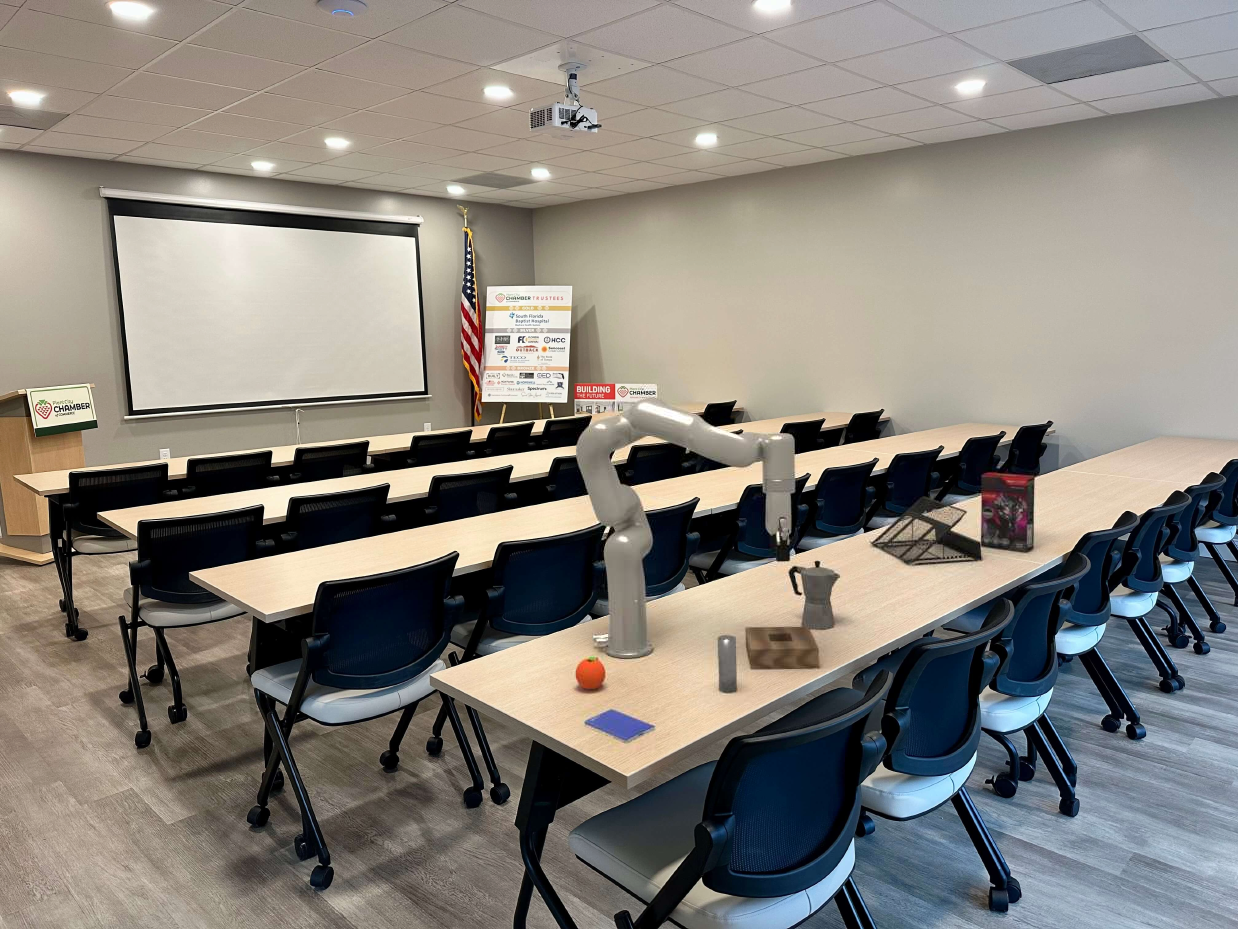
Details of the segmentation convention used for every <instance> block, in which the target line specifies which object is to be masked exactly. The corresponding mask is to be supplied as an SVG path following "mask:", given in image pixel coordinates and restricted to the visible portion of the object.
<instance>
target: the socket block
mask: <svg viewBox="0 0 1238 929" xmlns="http://www.w3.org/2000/svg"><path fill="white" fill-rule="evenodd" d="M744 629H745V649H746V654H747V658H748V663H749V668H750V670H803V669H802V668H820V665H819V664H820V663H819V662H820V660H819V659H820V655H819V654H820V653H819V646H818V645H817V642H816V640H815V637H814V636H813V633H812V631H811V629H809V627H804V626H758V627H755V626H753V627H752V626H751V627H746V626H745V628H744Z"/></svg>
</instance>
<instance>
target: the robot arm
mask: <svg viewBox="0 0 1238 929" xmlns="http://www.w3.org/2000/svg"><path fill="white" fill-rule="evenodd" d="M648 436H649V437H653V438H656V439H660V440H661V441H665V442H667V443H668V442H669V443H671V444H675V445H678V446H680V447H682V448H685V449H688V450H689V451H691V452H694V453H696V454H698V455H700V456H703V457H705V458H707V459H710V460H712V461H715V462H718V463H721V464H723V465H727V466H731V467H734V468H737V469H739V468H742V469H743V468H748V467H750V466H752V465H753V464H754V463H758V462H759V463H760V462H761V463H762V464H761V465H762V493H764V494H765V495H766V496H765V497H766V498H765V529H766V530H767V532H768V533H769V549H770V550H769V551H770V552H771V553H775V561H776V562H777V563H779V562H780V563H781V562H782V563H784V562H790V561H791V545H790V536H789V535H790V534H791V533H792V499H791V494H794V493H795V492H796V475H795V474H796V471H795V470H796V469H795V468H796V464H795V463H796V461H795V456H796V455H795V452H796V451H795V438H794V436H793V435H792V434H790V433H783V432H782V433H781V432H779V433H778V432H774V433H767V434H766V433H757V432H751V431H748V432H742V433H739V434H736V433H733V432H730V431H726V430H723V429H720V428H718V427H716V426H714V425H711V424H709V423H708V422H706V421H705V420H704V419H703V417H701V416H699V415H698V414H696V413H694V412H690V411H687V410H685V409H681V408H677V407H674V406H671V405H668V403H667V402H666V401H664V400H663V399H661V398H659V397H655V396H653V397H648V398H647V397H646V398H643V399H639V400H637V401H636V402H635V403H633V405H632V406H631V407H630V408H628V409H626V410H624V411H622V412H620V413H618V414H616V415H613V416H611V417H610V416H609V417H607V418H602V419H599V420H596V421H594V422H593V423H591V424H590V425H588V426H587V427H586V428H585V429H584V431H582V432H581V435H580V436H579V438H578V440H577V443H576V449H575V450H576V451H575V454H576V457H575V458H576V461H577V464H578V468H579V470H580V473H581V476H582V479H583V481H584V484H585V488H586V490H587V494H588V497H589V499H590V502H591V503H590V504H591V506H592V509H593V512H594V515H595V517H596V519H597V521H598V522H599V523H600V524H601V525H603V526H605V527H607V528H608V527H609V528H610V527H611V528H612V527H613V529H614V532H613V533H612V534H611V535H610V536H609V537H608V538H607V540H606V541H605V545H604V549H603V558H604V565H605V570H606V578H607V592H608V593H607V594H608V595H607V596H608V616H609V632H605V634H600V633H599V634H598V633H593V635H592V636H593V637H592V638H593V639H592V641H593V643H595V642H596V644H597V645H604V652H605V653H606V655H608V654H609V655H608V656H610V657H614V658H619V659H634V658H642V657H644V656H647V655H649V654H650V653H652V652H653V651H654V644H653V642H652V641H650V640H648V628H647V627H648V626H647V602H646V600H647V599H646V598H647V596H646V581H645V573H644V568H643V559H644V558H645V557H646V556H647V555H648V554H649V553H650V551H651V549H652V547H653V542H654V538H653V533H652V530H651V527H650V524H649V521H648V518H647V515H646V513H645V510H644V507H643V504H642V501H641V499H640V496H639V495H638V493H637V491H636V490H634V488H632V487H631V486H629V485H626V484H623V483H622V484H621V482H620V478H619V477H618V472H617V470H616V467H615V466H614V464H613V463H612V460H611V459H610V458H611V457H610V455H611V453H612V452H615V451H617V450H620V449H623V448H625V447H627V446H629V445H631V444H634V443H636V442H638V441H640V440H642V439H644V438H647V437H648Z"/></svg>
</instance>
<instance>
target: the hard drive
mask: <svg viewBox="0 0 1238 929" xmlns="http://www.w3.org/2000/svg"><path fill="white" fill-rule="evenodd" d="M584 724H585V725H587V726H589V727H591V728H594V729H597V730H599V731H601V732H604V733H606V734H608V735H610V736H613V737H614V738H613V739H615V738H616V739H615V740H617V739H618V741H619V740H621V741H620V742H622V743H624V742H625V743H624V744H626V743H627V744H629V743H631V742H633V741H635V740H637V739H639V738H641V737H643V736H645V735H648V734H650V733H651V732H654V731H655V730H656V726H655V725H654V724H650V723H649V722H645V721H644V720H641V719H638V718H635V717H633V716H630V715H628V714H625V713H623V712H621V711H618V710H615V709H612V708H611V709H608V710H606V711H604V712H602V713H599V714H597V715H595V716H593V717H590V718H588V719H586V720H585V721H584ZM584 724H583V725H584ZM585 725H584V726H585ZM587 726H586V727H587ZM589 727H588V728H589ZM591 728H590V729H591ZM594 729H593V730H594ZM601 732H600V733H601ZM608 735H607V736H608ZM610 736H609V737H610ZM638 737H639V738H638ZM632 740H633V741H632ZM628 742H629V743H628Z"/></svg>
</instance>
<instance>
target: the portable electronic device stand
mask: <svg viewBox="0 0 1238 929" xmlns="http://www.w3.org/2000/svg"><path fill="white" fill-rule="evenodd" d="M967 513H968V512H967V510H965V509H962V508H959V507H956V506H954V505H951V504H947V503H944V502H941V501H939V500H936V499H932V498H930V497H927V496H922V497H920V498H919V499H918V500H917V501H916V502H915V503H913V505H911V506H910V507H909V508H908V509H907V510H906V511H905V512H904V513H903V514H901V515H900V517H898V518H897V519H896V520H895V521H894V522H893V523H892V524H890V525H889V526H887V528H886V529H885V530H884V531H883V532H882V533H881V534H879V535H878V536H877V537H876V538H875V539H874V540H873V541H869V543H870V544H871V545H872V546H873V547H875V548H876V547H877V548H878V549H880V550H882V551H884V552H886V553H887V554H890V555H891V556H893V557H895V558H897V559H899V560H901V561H902V562H903V563H904V564H906V565H912V567H913V566H915V567H917V566H925V565H926V566H928V565H942V564H945V565H946V564H955V563H956V564H957V563H970V562H971V563H973V562H982V560H983V558H982V549H981V548H982V546H981V541H979V540H976V539H975V538H971V537H969V536H966V535H964V534H962V533H960V532H956V531H954V530H952V529H954V527H955V526H956V525H958V524H959V523H960V522H961V520H963V518H964V516H965V515H966V514H967ZM878 544H879V545H878ZM935 545H940V546H942V556H938V555H936V554H934V553H932V552H929V551H930V549H931V548H932V547H934V546H935ZM945 548H947V549H949V550H951V551H954V552H955V553H958V554H961V555H959V556H958V555H955V556H954V555H952V556H945ZM926 553H928V554H930V555H932V556H935V557H922V556H924V554H926ZM952 559H954V560H952ZM938 560H939V561H938ZM924 561H925V562H924ZM915 562H916V563H915ZM913 563H914V564H913Z"/></svg>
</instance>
